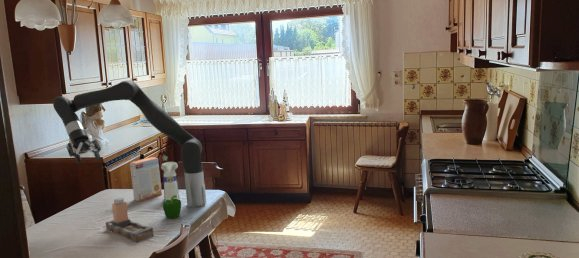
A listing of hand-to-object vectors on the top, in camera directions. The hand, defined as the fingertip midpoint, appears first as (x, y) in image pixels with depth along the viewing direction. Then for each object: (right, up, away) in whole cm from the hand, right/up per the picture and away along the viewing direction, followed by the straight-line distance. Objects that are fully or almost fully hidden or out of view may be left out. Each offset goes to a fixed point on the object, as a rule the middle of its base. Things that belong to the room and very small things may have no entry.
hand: (89, 160), depth 207 cm
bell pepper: (+38, -27, +3) cm, 46 cm away
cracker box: (+16, -22, +35) cm, 45 cm away
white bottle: (+30, -23, +30) cm, 48 cm away
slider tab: (+19, -27, -10) cm, 35 cm away
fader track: (+23, -30, -14) cm, 40 cm away
